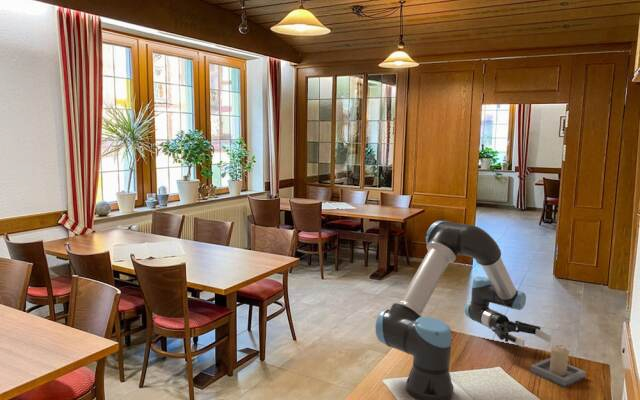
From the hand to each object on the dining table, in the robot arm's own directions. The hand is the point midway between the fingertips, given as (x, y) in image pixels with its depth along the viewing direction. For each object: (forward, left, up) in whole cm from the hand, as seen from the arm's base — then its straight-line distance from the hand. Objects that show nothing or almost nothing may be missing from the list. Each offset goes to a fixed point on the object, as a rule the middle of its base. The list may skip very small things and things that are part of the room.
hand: (537, 340), depth 181 cm
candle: (-2, -10, -8) cm, 13 cm away
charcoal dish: (-2, -10, -9) cm, 13 cm away
